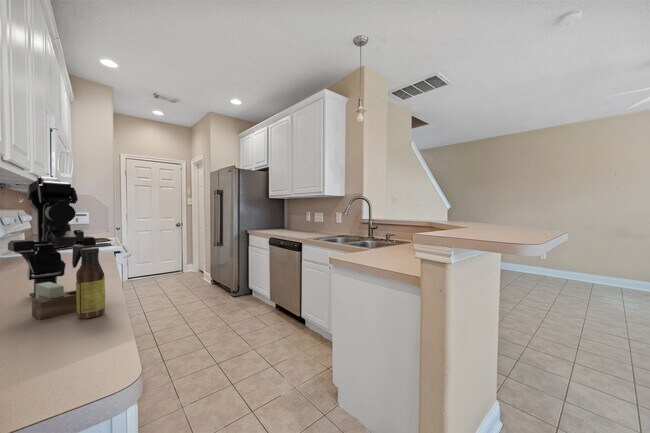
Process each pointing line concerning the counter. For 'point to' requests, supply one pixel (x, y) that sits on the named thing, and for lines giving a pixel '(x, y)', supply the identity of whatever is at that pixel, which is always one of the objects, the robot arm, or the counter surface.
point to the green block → (49, 290)
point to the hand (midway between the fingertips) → (55, 270)
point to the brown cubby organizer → (54, 306)
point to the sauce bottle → (90, 285)
